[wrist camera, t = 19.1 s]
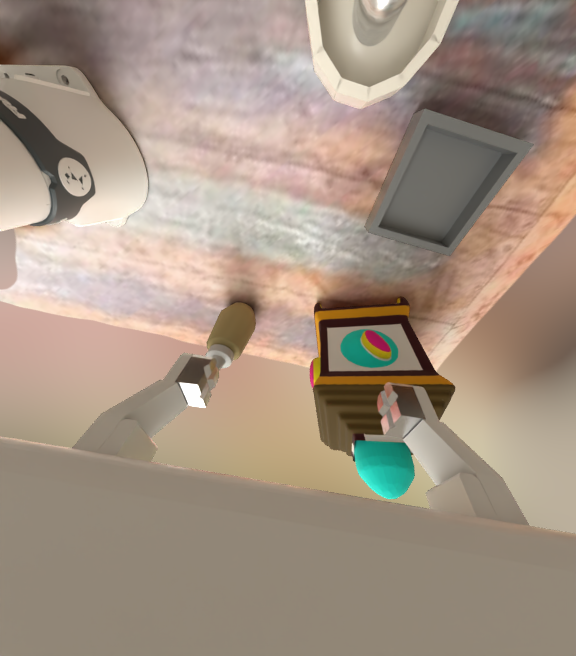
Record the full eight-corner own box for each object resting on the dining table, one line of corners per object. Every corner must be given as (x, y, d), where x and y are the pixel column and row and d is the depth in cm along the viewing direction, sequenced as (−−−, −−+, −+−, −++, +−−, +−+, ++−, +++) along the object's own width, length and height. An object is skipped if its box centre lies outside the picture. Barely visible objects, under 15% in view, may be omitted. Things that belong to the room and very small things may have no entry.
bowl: (295, 88, 25) (291, 77, 22) (336, -150, 17) (340, -230, 13) (397, 121, 26) (409, 115, 22) (484, -92, 17) (525, -153, 14)
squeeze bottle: (264, 306, 46) (239, 371, 32) (253, 331, 51) (228, 396, 37) (228, 291, 44) (187, 352, 30) (221, 318, 49) (183, 381, 36)
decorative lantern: (315, 362, 55) (311, 509, 32) (307, 297, 43) (291, 459, 20) (397, 360, 51) (461, 527, 28) (413, 288, 39) (549, 477, 16)
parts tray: (364, 226, 33) (368, 232, 31) (413, 113, 25) (424, 108, 22) (439, 248, 34) (449, 256, 31) (511, 145, 26) (533, 144, 23)
